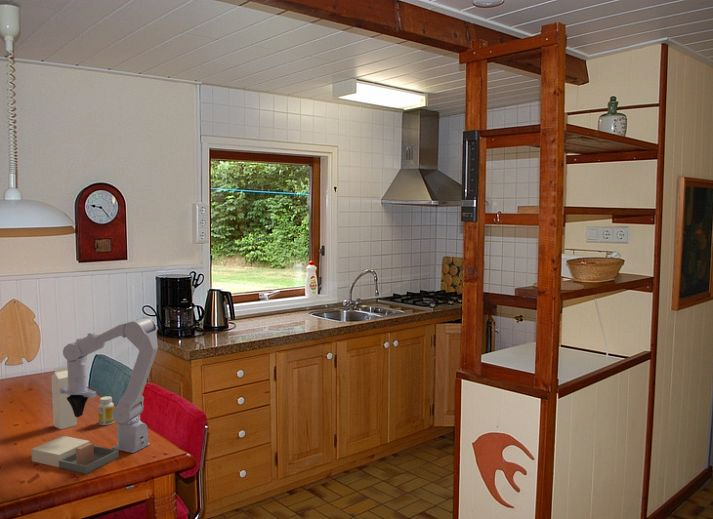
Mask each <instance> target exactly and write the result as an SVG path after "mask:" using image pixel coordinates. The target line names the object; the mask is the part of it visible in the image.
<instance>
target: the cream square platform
mask: <svg viewBox="0 0 713 519" xmlns="http://www.w3.org/2000/svg"><path fill="white" fill-rule="evenodd" d="M87 443H91V441H90V440H86V439H80V438H76V437H70V436H67V435H61V436H58V437H56V438H55V439H52V440H50V441H47V442H45V443H42V444H38V446H35V447H32V448H31V449H30V450H31V461H32V462H35V463H38V464H44V465H48V466H53V467H56V468H59V460H61V459H63V458H65V457H68V456H70V455H72V454H74V453H76V448H78V447H80V446H82V445H84V444H87Z"/></svg>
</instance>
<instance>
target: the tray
mask: <svg viewBox="0 0 713 519" xmlns="http://www.w3.org/2000/svg"><path fill="white" fill-rule="evenodd" d="M119 452H120V450H116V449H112V448H108V447H103V446H99V445H94V459H92V460H90V461H88V462H86V463H84V464H82V465H81V464H77V462H76V453H74V454H72V455H70V456H68V457H65V458H63V459H61V460H59V467H58V469H60V470H64V471H70V472H74V473H76V474H77V473H78V474H81V473H82V474H83V475H89V474H90V473H93V472H94V471H96V470H98V469H100V468H102V467H104V466H106V465H109V464H110V463H112V462H114V461H115V460H118V459H119V458H120V453H119ZM82 474H81V475H82Z"/></svg>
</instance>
